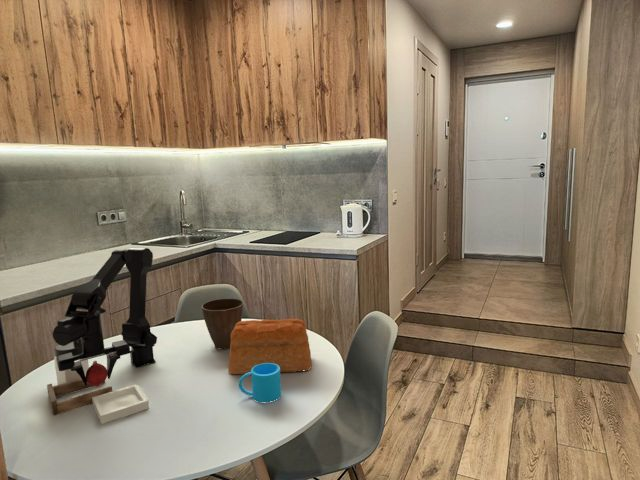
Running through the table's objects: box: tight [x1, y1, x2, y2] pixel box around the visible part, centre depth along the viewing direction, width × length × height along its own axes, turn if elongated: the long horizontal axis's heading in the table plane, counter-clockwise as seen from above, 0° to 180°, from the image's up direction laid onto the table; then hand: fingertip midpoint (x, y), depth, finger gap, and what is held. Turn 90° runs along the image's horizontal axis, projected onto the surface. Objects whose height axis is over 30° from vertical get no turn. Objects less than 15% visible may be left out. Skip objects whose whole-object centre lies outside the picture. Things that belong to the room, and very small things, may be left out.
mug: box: [237, 363, 282, 403], centre depth 124 cm, size 12×8×8 cm
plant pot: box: [201, 298, 244, 350], centre depth 160 cm, size 15×15×16 cm
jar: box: [53, 342, 90, 385], centre depth 136 cm, size 9×8×12 cm
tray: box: [92, 384, 150, 425], centre depth 121 cm, size 12×12×2 cm
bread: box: [228, 318, 312, 375], centre depth 143 cm, size 14×27×15 cm, turn 92°
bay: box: [46, 379, 114, 416], centre depth 126 cm, size 15×12×4 cm
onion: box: [86, 360, 108, 388], centre depth 128 cm, size 6×6×8 cm
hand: (97, 381), depth 129 cm, fingers closed on onion, 6 cm apart
